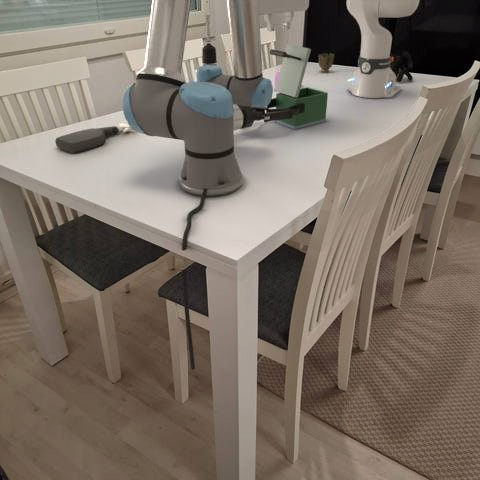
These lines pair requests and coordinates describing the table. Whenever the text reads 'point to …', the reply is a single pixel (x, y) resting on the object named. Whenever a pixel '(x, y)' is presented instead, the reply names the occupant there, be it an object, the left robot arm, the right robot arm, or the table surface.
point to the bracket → (276, 78)
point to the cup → (325, 61)
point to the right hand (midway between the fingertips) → (278, 30)
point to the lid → (291, 69)
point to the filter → (208, 48)
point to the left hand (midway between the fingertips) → (292, 104)
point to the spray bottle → (88, 138)
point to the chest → (313, 107)
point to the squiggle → (401, 66)
